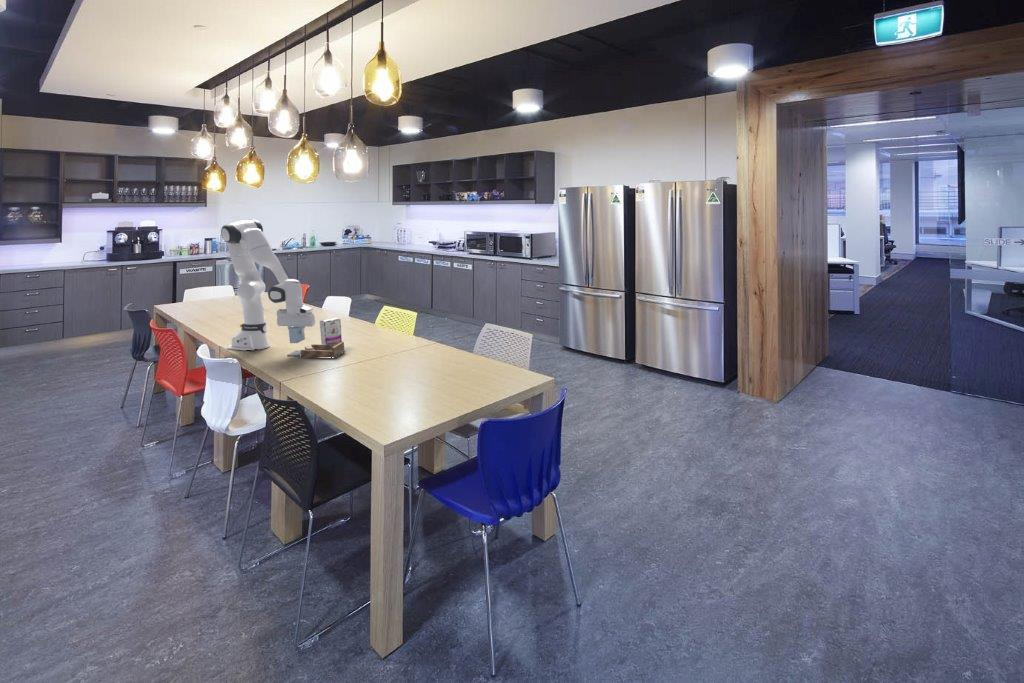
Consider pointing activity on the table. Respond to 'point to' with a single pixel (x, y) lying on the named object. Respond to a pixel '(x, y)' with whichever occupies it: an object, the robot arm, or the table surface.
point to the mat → (295, 353)
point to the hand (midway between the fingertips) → (296, 334)
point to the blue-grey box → (296, 334)
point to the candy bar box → (330, 331)
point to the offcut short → (308, 348)
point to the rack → (323, 350)
